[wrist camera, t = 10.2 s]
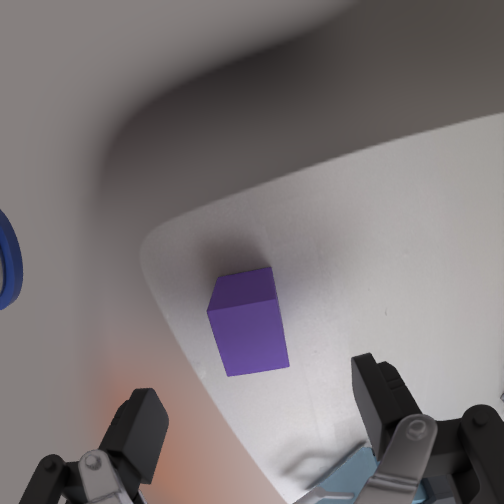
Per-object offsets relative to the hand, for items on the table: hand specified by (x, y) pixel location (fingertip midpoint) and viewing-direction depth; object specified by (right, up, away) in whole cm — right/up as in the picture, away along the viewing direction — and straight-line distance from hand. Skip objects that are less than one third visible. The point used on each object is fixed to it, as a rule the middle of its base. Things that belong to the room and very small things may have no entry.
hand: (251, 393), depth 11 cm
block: (0, +2, +9) cm, 10 cm away
